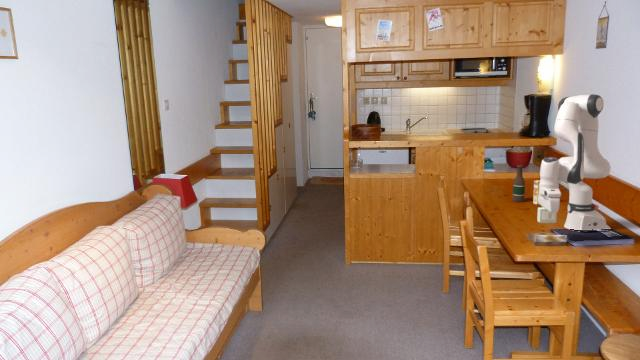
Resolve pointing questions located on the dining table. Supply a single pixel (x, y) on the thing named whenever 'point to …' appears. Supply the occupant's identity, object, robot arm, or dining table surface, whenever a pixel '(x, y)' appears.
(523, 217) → the dining table surface
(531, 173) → the dining table surface
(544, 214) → the carton
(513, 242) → the dining table surface
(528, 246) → the dining table surface
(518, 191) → the beer bottle
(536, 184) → the candy box
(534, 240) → the shelf
